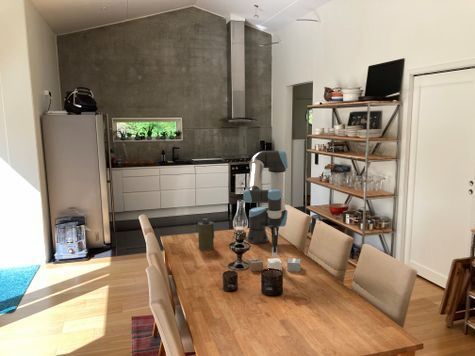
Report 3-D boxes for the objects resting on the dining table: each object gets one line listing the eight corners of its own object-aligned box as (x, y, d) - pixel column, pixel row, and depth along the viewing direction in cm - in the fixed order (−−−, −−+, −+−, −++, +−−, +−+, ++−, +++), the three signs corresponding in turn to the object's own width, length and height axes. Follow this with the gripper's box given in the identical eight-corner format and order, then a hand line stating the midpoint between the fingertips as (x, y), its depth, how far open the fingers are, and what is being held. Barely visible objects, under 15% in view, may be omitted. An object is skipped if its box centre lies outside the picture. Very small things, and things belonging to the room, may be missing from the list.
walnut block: (247, 267, 222) (247, 258, 221) (259, 265, 224) (259, 257, 223) (251, 271, 215) (250, 262, 214) (262, 270, 217) (262, 261, 216)
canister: (195, 249, 253) (195, 220, 250) (201, 244, 263) (201, 216, 260) (211, 251, 250) (210, 221, 247) (216, 246, 259) (216, 217, 257)
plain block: (267, 266, 222) (267, 258, 221) (279, 266, 222) (279, 258, 222) (269, 271, 215) (269, 263, 214) (281, 271, 215) (281, 262, 215)
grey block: (288, 266, 222) (288, 258, 221) (300, 267, 221) (300, 258, 220) (287, 271, 215) (287, 262, 214) (299, 272, 214) (300, 263, 213)
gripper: (266, 214, 221) (266, 253, 224) (269, 220, 208) (269, 261, 211) (279, 213, 221) (279, 252, 224) (282, 219, 208) (282, 261, 212)
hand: (274, 257), depth 218 cm, fingers closed
